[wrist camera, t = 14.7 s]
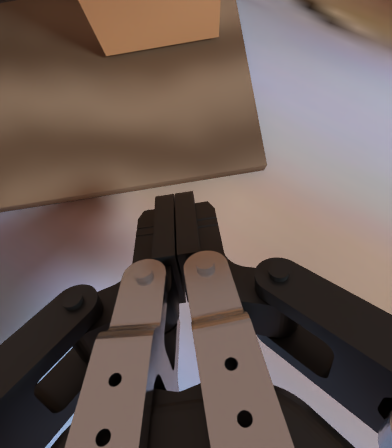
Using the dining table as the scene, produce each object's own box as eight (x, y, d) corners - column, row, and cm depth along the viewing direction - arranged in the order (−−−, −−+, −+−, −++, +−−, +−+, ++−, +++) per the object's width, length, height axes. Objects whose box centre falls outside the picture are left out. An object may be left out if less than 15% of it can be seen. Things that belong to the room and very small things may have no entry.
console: (263, 170, 19) (289, 128, 13) (-142, 235, 19) (-297, 224, 13) (217, -81, 21) (220, -216, 15) (-146, -15, 22) (-281, -121, 16)
